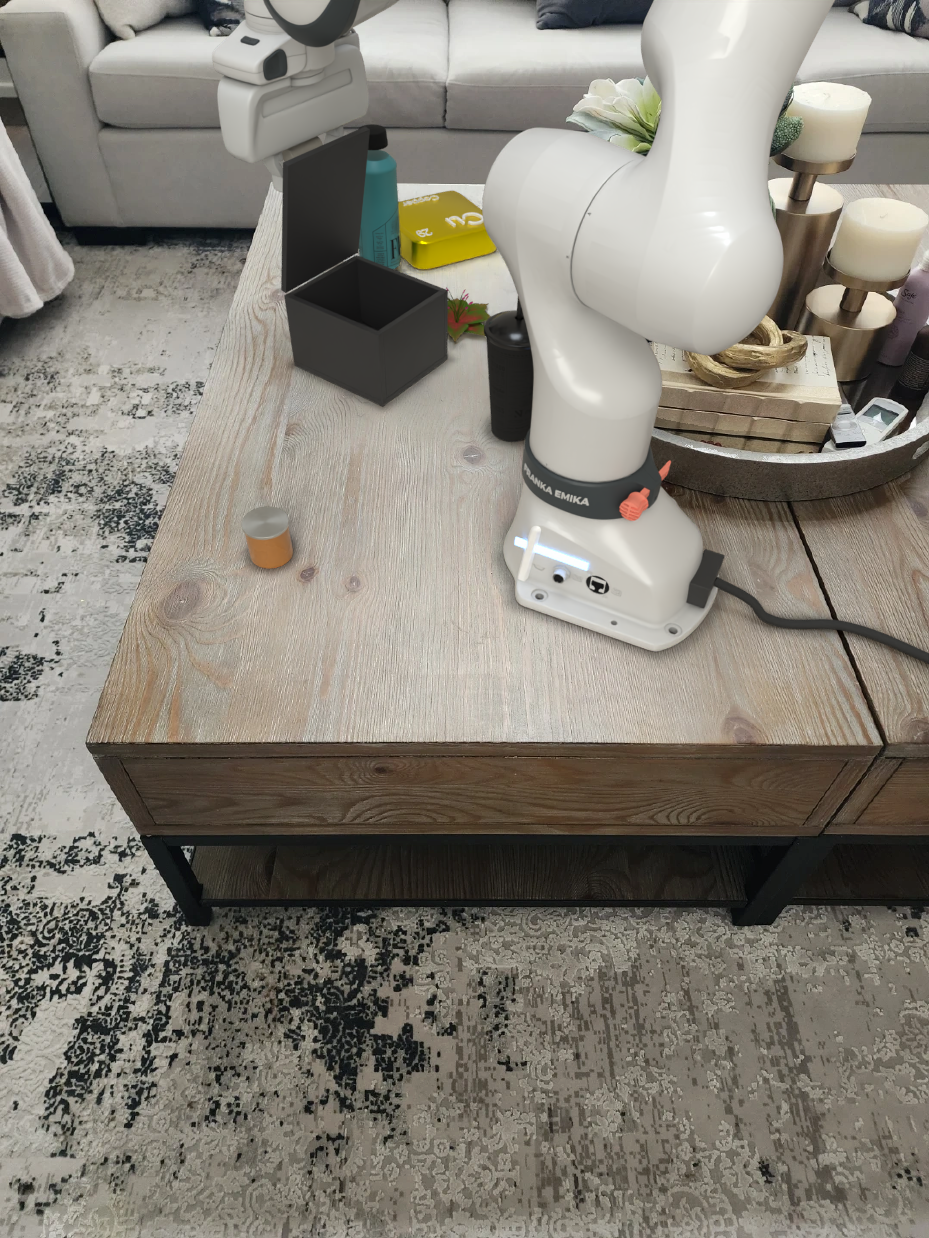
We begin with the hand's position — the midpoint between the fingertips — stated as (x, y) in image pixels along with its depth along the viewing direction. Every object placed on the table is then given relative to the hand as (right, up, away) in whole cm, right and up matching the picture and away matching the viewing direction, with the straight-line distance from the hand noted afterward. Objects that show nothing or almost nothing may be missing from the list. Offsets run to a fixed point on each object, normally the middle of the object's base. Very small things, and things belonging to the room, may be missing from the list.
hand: (307, 178), depth 99 cm
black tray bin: (+6, -18, +13) cm, 23 cm away
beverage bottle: (+6, +1, +30) cm, 30 cm away
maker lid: (+2, -3, +2) cm, 4 cm away
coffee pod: (-2, -45, -11) cm, 46 cm away
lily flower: (+17, -10, +20) cm, 29 cm away
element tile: (+14, +8, +36) cm, 40 cm away
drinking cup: (+24, -29, +4) cm, 38 cm away
